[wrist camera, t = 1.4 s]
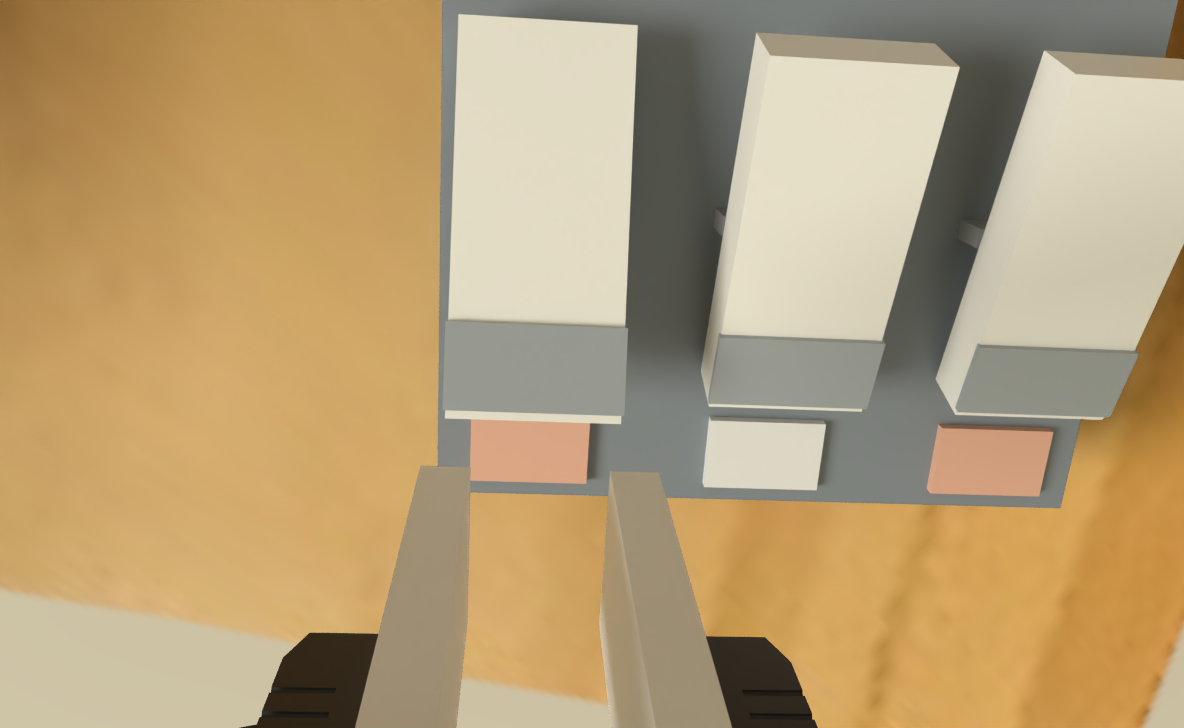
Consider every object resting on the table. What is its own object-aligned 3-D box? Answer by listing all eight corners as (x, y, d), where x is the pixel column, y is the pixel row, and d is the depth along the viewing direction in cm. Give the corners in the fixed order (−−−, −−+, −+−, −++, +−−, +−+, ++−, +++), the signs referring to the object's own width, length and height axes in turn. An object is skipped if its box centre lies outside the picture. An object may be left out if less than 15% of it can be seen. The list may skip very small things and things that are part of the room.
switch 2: (754, 32, 22) (768, 57, 20) (937, 43, 22) (964, 69, 20) (698, 370, 27) (707, 410, 25) (848, 375, 27) (865, 415, 26)
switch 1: (460, 34, 24) (455, 11, 22) (631, 44, 24) (640, 23, 22) (447, 411, 24) (442, 419, 22) (616, 417, 24) (624, 424, 23)
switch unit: (458, -118, 27) (439, -157, 21) (1088, -73, 29) (1233, -98, 23) (450, 430, 32) (433, 519, 27) (984, 447, 34) (1080, 535, 28)
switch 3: (1041, 50, 22) (1076, 76, 21) (1217, 61, 22) (1263, 88, 21) (933, 379, 27) (955, 418, 26) (1077, 384, 27) (1107, 423, 26)
